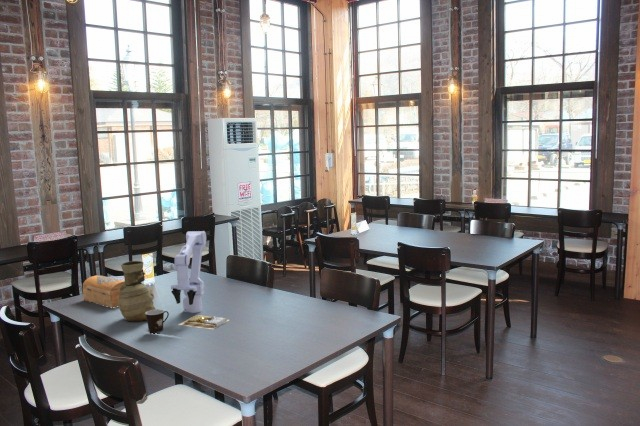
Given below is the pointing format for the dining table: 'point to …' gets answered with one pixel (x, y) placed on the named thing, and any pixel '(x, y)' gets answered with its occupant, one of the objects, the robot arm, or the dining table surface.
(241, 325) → the dining table surface
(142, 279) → the ceramic vessel
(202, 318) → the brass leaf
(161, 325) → the coffee mug
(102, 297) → the wooden box
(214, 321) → the panel
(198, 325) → the jig board
